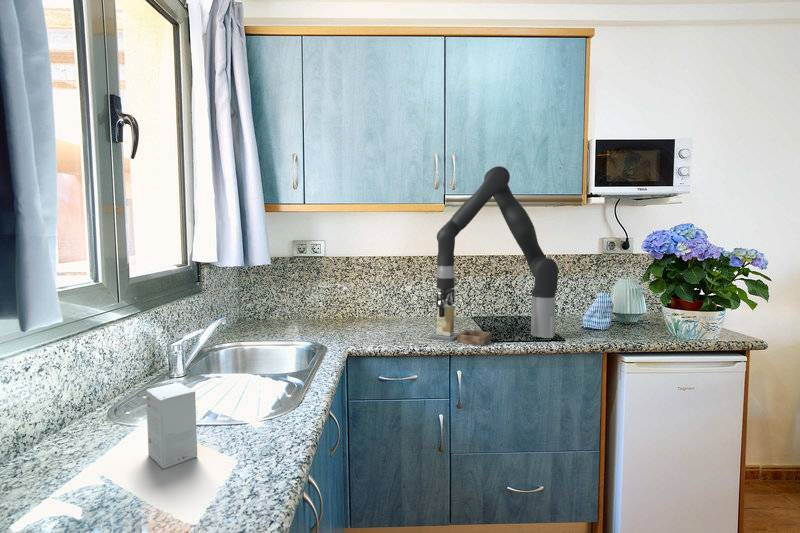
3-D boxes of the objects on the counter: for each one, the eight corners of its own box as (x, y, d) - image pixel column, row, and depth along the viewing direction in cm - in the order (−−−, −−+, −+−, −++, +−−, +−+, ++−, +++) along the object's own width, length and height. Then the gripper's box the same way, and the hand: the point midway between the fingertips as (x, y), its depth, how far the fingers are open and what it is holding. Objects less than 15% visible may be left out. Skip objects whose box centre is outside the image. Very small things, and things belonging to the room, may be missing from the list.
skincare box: (436, 334, 181) (436, 305, 180) (440, 332, 185) (440, 304, 184) (450, 336, 178) (451, 307, 177) (454, 334, 182) (454, 305, 181)
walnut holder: (491, 339, 177) (491, 332, 177) (483, 345, 168) (483, 338, 167) (465, 336, 182) (466, 329, 182) (456, 342, 173) (457, 335, 172)
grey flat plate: (460, 335, 184) (460, 333, 184) (452, 341, 175) (452, 338, 175) (438, 333, 189) (438, 331, 189) (429, 338, 180) (429, 335, 180)
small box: (198, 457, 84) (196, 391, 83) (162, 470, 79) (159, 400, 78) (181, 443, 89) (179, 381, 88) (147, 454, 85) (144, 389, 84)
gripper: (447, 278, 172) (447, 319, 173) (460, 275, 185) (460, 313, 186) (430, 277, 175) (430, 317, 177) (443, 274, 188) (443, 311, 189)
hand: (445, 315), depth 181 cm, fingers open, 8 cm apart
